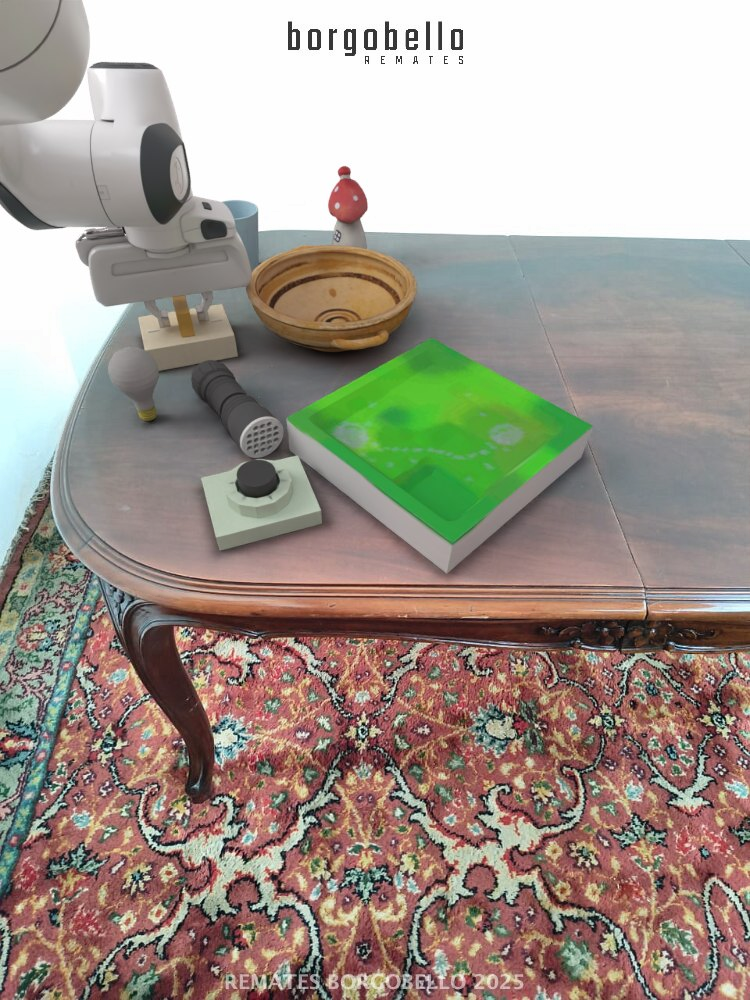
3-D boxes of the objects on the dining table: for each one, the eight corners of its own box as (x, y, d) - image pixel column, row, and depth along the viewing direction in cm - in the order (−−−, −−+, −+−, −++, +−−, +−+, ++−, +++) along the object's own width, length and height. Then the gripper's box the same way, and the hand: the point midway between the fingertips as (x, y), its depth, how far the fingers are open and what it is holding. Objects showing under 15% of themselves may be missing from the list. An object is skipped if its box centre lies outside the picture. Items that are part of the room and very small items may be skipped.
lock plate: (151, 372, 81) (144, 349, 78) (144, 338, 87) (137, 315, 84) (238, 356, 84) (234, 333, 82) (225, 324, 90) (221, 302, 87)
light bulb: (159, 436, 72) (137, 368, 65) (118, 429, 73) (92, 360, 66) (179, 409, 76) (160, 341, 68) (140, 402, 77) (117, 334, 69)
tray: (428, 368, 83) (431, 337, 80) (581, 457, 72) (593, 426, 68) (289, 450, 71) (286, 417, 67) (446, 573, 59) (452, 542, 56)
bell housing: (219, 551, 61) (212, 526, 58) (204, 491, 66) (197, 465, 63) (322, 523, 63) (320, 498, 60) (299, 468, 69) (296, 443, 66)
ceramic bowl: (449, 369, 83) (456, 318, 78) (283, 406, 77) (277, 353, 71) (371, 275, 102) (372, 228, 96) (232, 298, 95) (224, 249, 89)
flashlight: (191, 398, 78) (182, 363, 74) (228, 384, 80) (222, 349, 76) (245, 464, 69) (238, 429, 65) (285, 447, 71) (281, 412, 67)
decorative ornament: (335, 251, 108) (333, 161, 97) (370, 254, 107) (372, 164, 96) (324, 275, 101) (321, 181, 90) (362, 278, 101) (363, 185, 90)
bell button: (243, 502, 60) (240, 490, 59) (235, 476, 63) (232, 464, 62) (281, 492, 61) (279, 481, 60) (272, 467, 64) (270, 455, 63)
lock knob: (195, 335, 81) (189, 310, 78) (181, 337, 81) (175, 312, 78) (188, 313, 85) (183, 289, 82) (176, 315, 85) (170, 291, 82)
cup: (269, 279, 100) (261, 216, 92) (223, 285, 98) (212, 221, 90) (261, 259, 105) (253, 197, 97) (217, 264, 103) (206, 202, 95)
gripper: (70, 242, 68) (107, 346, 78) (247, 221, 73) (260, 322, 83) (69, 220, 72) (105, 322, 82) (237, 202, 77) (251, 300, 87)
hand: (184, 322), depth 82 cm, fingers open, 4 cm apart
